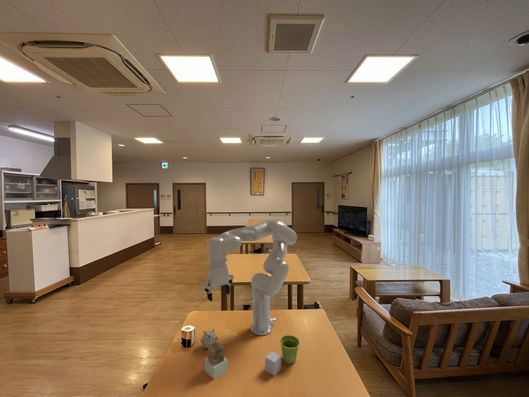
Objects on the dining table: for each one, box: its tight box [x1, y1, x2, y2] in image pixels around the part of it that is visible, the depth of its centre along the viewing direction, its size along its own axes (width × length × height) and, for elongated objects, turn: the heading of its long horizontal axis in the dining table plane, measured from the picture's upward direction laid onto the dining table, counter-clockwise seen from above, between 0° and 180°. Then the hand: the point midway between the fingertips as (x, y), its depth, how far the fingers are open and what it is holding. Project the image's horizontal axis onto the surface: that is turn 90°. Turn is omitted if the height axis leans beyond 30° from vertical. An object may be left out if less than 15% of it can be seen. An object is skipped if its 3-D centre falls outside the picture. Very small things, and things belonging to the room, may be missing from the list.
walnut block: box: [207, 341, 225, 366], centre depth 101 cm, size 5×5×6 cm
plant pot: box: [279, 334, 301, 365], centre depth 108 cm, size 9×9×9 cm
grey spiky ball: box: [200, 329, 219, 351], centre depth 116 cm, size 9×8×10 cm
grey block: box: [264, 350, 282, 376], centre depth 102 cm, size 5×5×6 cm
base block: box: [204, 356, 228, 380], centre depth 101 cm, size 7×7×5 cm
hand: (219, 296), depth 114 cm, fingers open, 9 cm apart
